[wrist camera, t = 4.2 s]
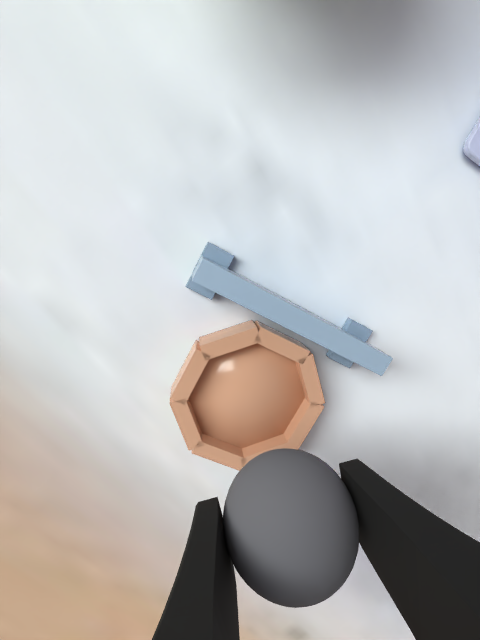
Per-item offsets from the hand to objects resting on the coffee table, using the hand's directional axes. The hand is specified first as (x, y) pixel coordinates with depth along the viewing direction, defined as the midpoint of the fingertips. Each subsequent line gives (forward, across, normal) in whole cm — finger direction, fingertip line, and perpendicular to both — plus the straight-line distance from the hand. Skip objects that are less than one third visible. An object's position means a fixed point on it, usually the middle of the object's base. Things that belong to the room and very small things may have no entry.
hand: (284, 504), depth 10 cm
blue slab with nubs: (+8, -3, -4) cm, 9 cm away
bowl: (+8, 0, 0) cm, 8 cm away
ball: (+1, 0, 0) cm, 1 cm away
